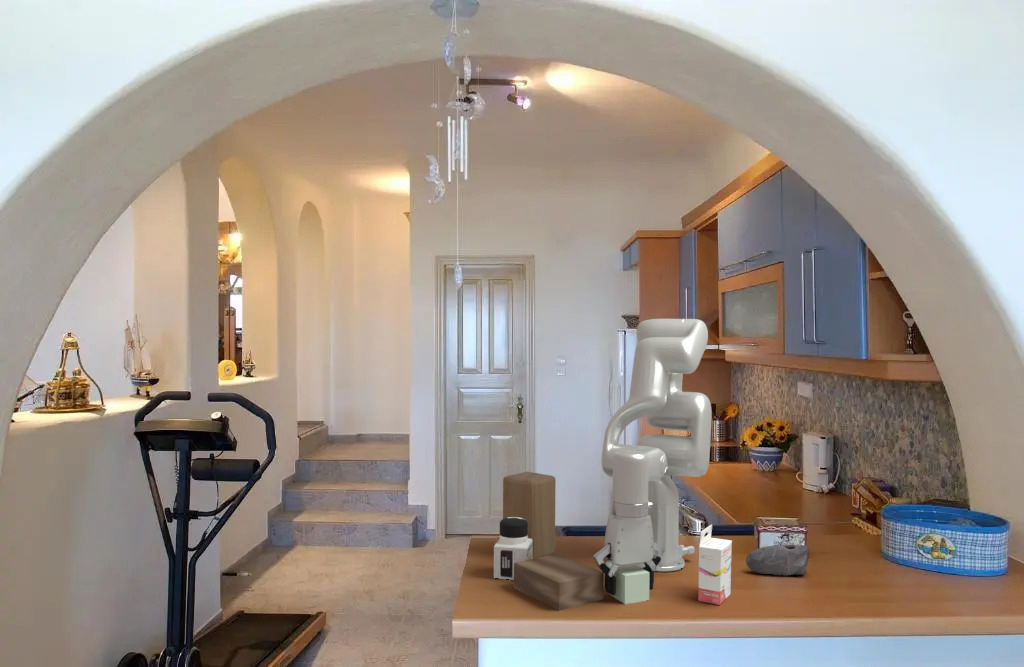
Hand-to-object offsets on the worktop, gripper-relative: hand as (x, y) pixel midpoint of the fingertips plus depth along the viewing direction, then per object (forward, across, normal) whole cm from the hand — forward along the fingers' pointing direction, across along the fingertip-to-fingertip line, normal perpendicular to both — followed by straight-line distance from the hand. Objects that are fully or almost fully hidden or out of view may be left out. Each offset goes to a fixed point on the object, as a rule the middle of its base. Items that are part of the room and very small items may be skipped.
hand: (629, 590), depth 162 cm
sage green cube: (+2, 0, 0) cm, 2 cm away
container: (+2, +17, -23) cm, 29 cm away
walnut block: (+2, +13, -8) cm, 15 cm away
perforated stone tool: (+2, -41, 0) cm, 41 cm away
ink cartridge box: (+2, -17, +7) cm, 19 cm away
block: (+2, +7, -36) cm, 37 cm away
